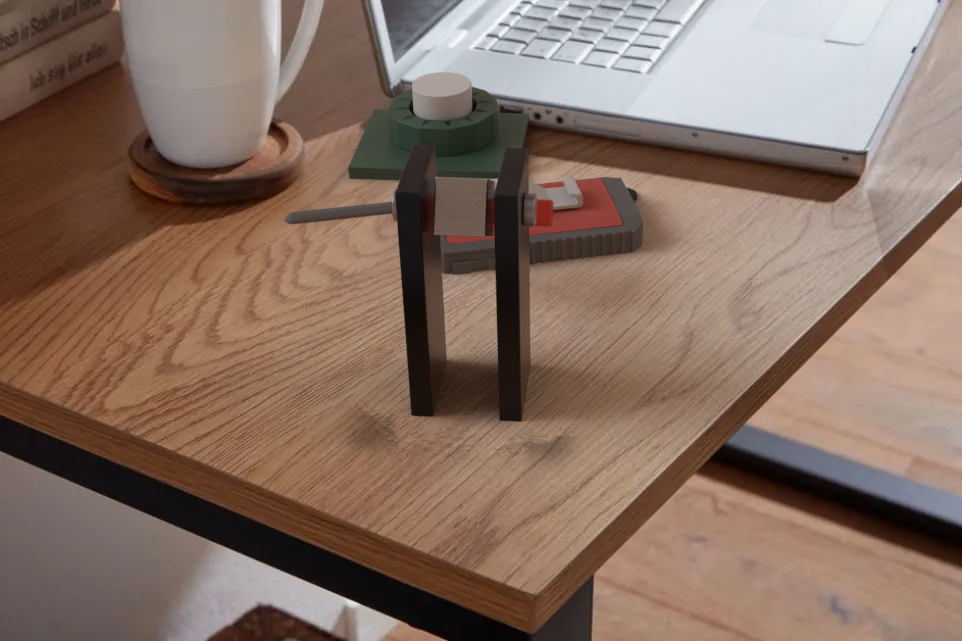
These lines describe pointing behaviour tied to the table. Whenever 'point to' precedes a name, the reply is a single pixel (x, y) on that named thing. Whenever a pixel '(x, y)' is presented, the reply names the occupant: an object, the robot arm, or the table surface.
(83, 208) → the table surface
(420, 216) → the bracket
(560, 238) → the walkie-talkie
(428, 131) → the switch box
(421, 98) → the button
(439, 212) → the lever
